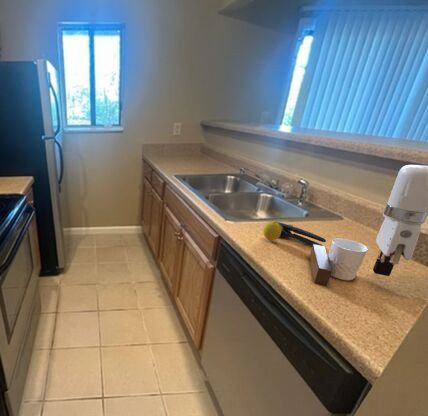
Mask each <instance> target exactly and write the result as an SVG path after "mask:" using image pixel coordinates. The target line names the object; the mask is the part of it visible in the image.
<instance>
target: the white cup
mask: <svg viewBox="0 0 428 416" xmlns="http://www.w3.org/2000/svg"><path fill="white" fill-rule="evenodd" d="M329 247H330V248H329V251H328V254H327V256H328V260H329V263H330V266H331V269H332V273H331V276H330V277H332V278H335V279H339V280H343V281H352V280H354V279H355V277H356V275H357V273H358V271H359V270H360V267H361V266H362V264H363V261H364V259H365V257H366V255H367V253H368V250H369V247H367V246H366V245H365V244H363V243H361V242H359V241H355V240H352V239H346V238H333V239H332V240H331V243H330V246H329Z"/></svg>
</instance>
